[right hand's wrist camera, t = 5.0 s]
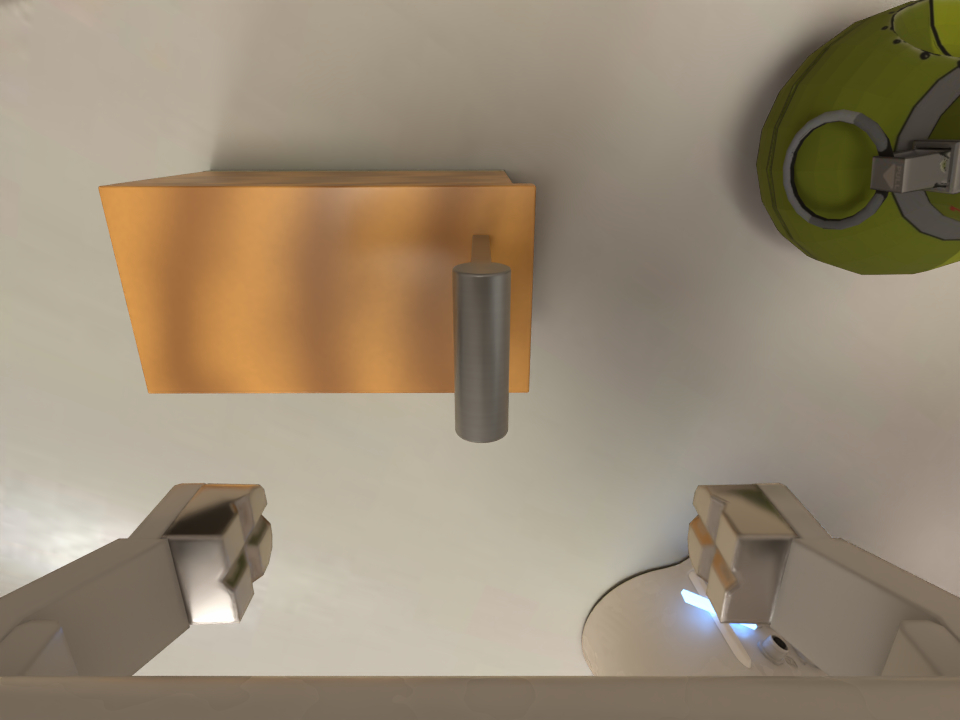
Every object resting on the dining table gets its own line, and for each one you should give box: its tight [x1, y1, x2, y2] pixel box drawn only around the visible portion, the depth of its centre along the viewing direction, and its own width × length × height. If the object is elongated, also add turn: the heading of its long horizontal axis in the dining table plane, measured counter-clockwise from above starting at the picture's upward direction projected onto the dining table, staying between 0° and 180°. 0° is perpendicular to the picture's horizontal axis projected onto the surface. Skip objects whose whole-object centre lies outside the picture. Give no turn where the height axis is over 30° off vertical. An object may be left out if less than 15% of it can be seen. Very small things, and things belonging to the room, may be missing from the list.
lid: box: [99, 183, 536, 443], centre depth 22 cm, size 18×9×9 cm, turn 90°
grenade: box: [756, 0, 960, 275], centre depth 25 cm, size 12×12×15 cm
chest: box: [118, 170, 512, 184], centre depth 30 cm, size 17×9×9 cm, turn 90°
